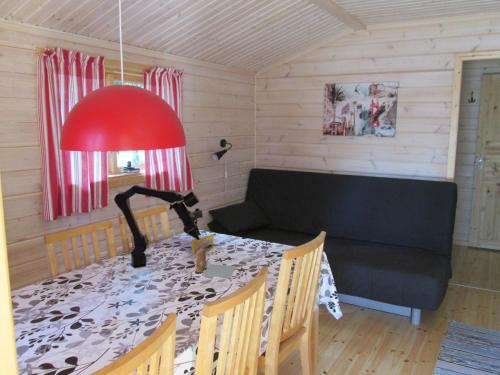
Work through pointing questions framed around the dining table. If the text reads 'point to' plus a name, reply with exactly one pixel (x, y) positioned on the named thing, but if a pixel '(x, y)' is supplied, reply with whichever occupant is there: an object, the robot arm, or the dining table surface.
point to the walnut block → (201, 260)
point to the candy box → (202, 243)
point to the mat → (219, 270)
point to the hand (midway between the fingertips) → (199, 237)
